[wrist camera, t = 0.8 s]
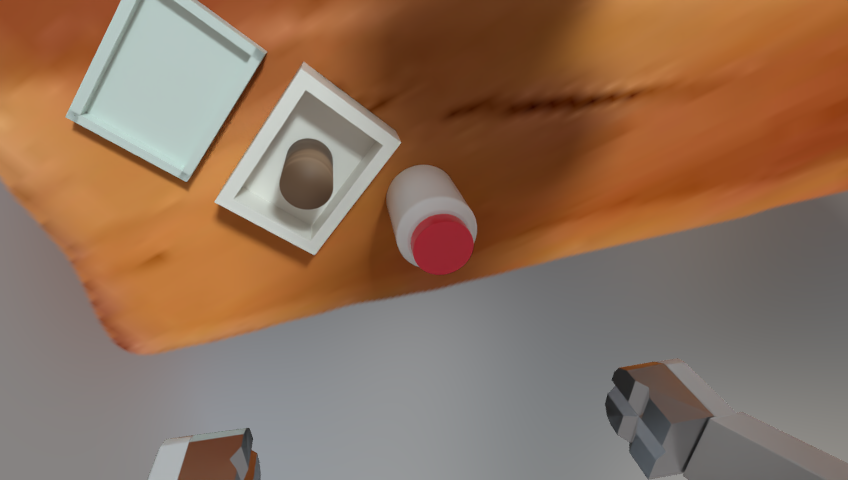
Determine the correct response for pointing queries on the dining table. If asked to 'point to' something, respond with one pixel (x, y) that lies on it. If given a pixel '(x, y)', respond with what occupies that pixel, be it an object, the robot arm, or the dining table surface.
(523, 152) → the dining table surface
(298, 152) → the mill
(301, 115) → the white storage bin
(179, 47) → the tray
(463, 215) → the pill bottle
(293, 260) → the dining table surface
